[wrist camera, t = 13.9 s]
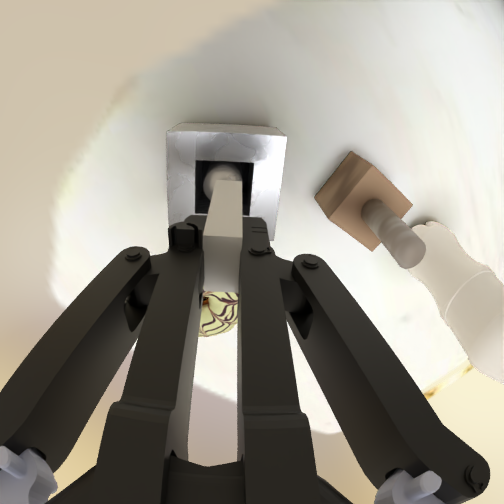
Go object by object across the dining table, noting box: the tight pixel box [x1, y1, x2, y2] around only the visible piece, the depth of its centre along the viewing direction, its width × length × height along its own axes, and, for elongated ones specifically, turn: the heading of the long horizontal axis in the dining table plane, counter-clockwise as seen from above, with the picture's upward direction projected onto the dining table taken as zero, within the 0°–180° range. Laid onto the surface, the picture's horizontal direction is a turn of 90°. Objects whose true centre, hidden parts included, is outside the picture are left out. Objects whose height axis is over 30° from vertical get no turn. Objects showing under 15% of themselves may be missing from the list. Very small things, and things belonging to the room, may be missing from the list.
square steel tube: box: [167, 123, 287, 241], centre depth 22 cm, size 8×8×5 cm
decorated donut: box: [198, 286, 238, 337], centre depth 32 cm, size 10×11×4 cm
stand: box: [314, 151, 426, 269], centre depth 23 cm, size 6×6×12 cm
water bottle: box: [408, 221, 504, 384], centre depth 21 cm, size 7×7×25 cm
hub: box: [202, 160, 250, 200], centre depth 23 cm, size 6×6×6 cm
